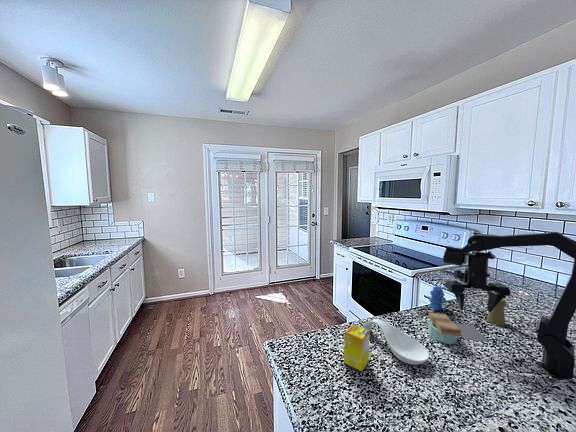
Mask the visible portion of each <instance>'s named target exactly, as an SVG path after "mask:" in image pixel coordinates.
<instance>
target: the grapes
mask: <svg viewBox="0 0 576 432" xmlns="http://www.w3.org/2000/svg"><path fill="white" fill-rule="evenodd" d="M429 294H430V297H428V301H429V302H430V303H429V306H430V308H431V309H432V310H433V311H436V312H437V311H439V310H440V309H443V305H444V304H447V302H448V301H447V299H446V297H445V293H444V290H443V288H442V287H441V286H437V285H436V286H433V287H432V290H431V291H429ZM442 304H443V305H442Z"/></svg>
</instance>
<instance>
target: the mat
mask: <svg viewBox="0 0 576 432" xmlns="http://www.w3.org/2000/svg"><path fill="white" fill-rule="evenodd" d="M453 323H454V324H455V325H456V326H457V327H458V328H459V329H460V330H461V335H460V336H461V337H462V338H463V339H464V340H467V341H468V340H469V341H475V342H476V341H477V342H482V343H483V342H484V343H490V341H489V340H488V339H487V338H486V337H485V336H484V335H483V334H482V333H481V332H480V331H478V329H476V327H475V326H473V325H472V324H468V323H467V324H465V323H457V322H453Z"/></svg>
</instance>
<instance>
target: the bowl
mask: <svg viewBox="0 0 576 432" xmlns="http://www.w3.org/2000/svg"><path fill="white" fill-rule="evenodd" d="M427 330H428V331H427V332H428V335H429V337H431V338H432V339H433V340H436V341H437V342H440V343H442V344H446V345H453V344H456V343H457V342H458V338H459V336H451V335H443V334H441V333H440V332H439V331H438V329H437V328H436V327H435V325H434V324H433V323H432V321H431V320H430V321H429V323H428V329H427Z"/></svg>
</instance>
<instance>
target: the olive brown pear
mask: <svg viewBox="0 0 576 432" xmlns="http://www.w3.org/2000/svg"><path fill="white" fill-rule="evenodd" d="M506 307H507V302H506V300H505V298H503V299H502V300H501V301H500V302H499V303H498V304H497V305H496V306H495V308H494V309H493V310H492V311H491V312H489V311H488V315H487V318H486V321H487V322H488V323H490V324H492V325H495V326H499V327H505V326H506V319H505V317H506V316H505V308H506Z"/></svg>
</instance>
